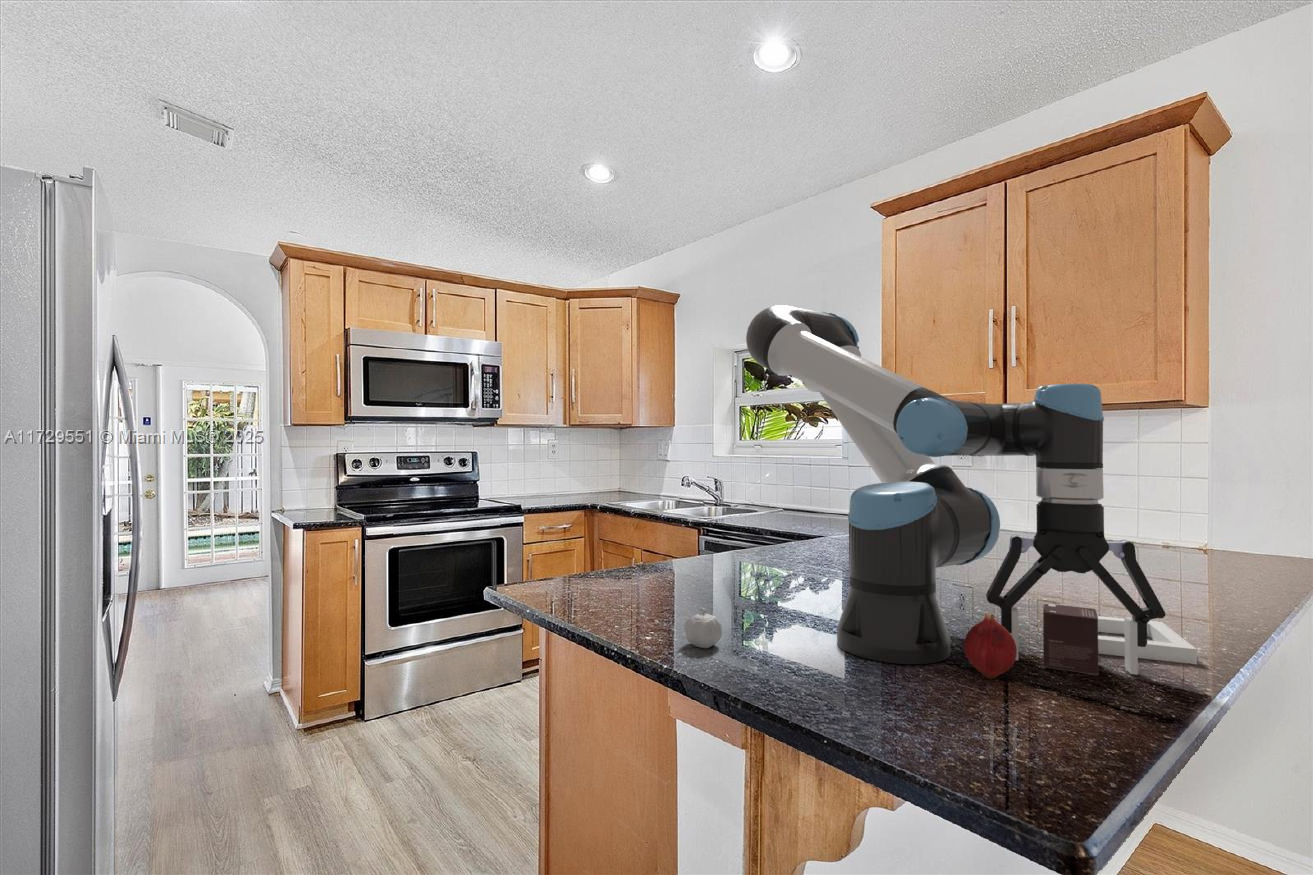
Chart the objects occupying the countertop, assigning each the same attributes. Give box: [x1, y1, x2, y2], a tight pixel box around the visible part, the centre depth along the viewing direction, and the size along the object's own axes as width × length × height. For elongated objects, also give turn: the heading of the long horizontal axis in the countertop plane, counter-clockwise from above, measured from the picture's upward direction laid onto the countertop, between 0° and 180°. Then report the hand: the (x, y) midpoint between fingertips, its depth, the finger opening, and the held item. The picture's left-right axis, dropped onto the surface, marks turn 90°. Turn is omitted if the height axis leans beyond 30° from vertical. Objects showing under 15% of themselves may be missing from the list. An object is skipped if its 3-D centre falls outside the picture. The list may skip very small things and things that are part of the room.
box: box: [1042, 603, 1100, 676], centre depth 85 cm, size 6×6×7 cm
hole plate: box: [1097, 615, 1198, 665], centre depth 95 cm, size 15×15×2 cm
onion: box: [963, 612, 1017, 680], centre depth 80 cm, size 6×6×8 cm
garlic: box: [683, 607, 723, 649], centre depth 93 cm, size 6×5×5 cm
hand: (1070, 664), depth 85 cm, fingers open, 12 cm apart
